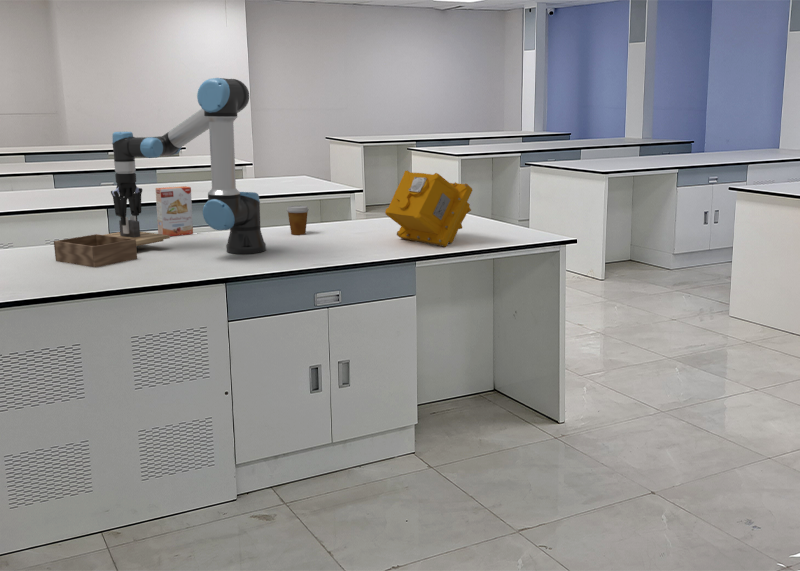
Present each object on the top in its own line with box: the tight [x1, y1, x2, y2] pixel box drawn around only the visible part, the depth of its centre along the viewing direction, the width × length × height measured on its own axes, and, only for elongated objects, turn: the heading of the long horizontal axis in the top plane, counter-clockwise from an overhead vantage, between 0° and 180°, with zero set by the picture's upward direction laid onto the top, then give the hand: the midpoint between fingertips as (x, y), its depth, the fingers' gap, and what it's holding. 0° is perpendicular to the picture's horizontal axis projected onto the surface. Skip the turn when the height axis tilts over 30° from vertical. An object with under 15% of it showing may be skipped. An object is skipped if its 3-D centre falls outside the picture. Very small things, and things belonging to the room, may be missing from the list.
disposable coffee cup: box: [286, 205, 309, 236], centre depth 341 cm, size 10×10×12 cm
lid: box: [104, 219, 171, 247], centre depth 304 cm, size 23×19×8 cm
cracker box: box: [155, 185, 194, 237], centre depth 338 cm, size 14×6×21 cm, turn 130°
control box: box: [384, 170, 473, 248], centre depth 319 cm, size 27×27×30 cm
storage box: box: [53, 233, 138, 268], centre depth 281 cm, size 22×18×8 cm
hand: (130, 232), depth 304 cm, fingers closed on lid, 3 cm apart
